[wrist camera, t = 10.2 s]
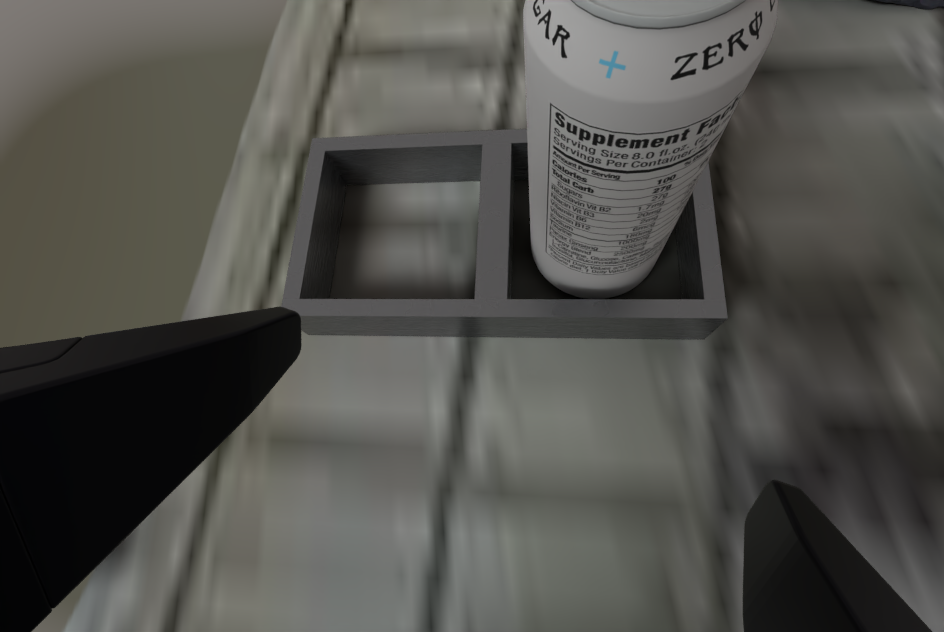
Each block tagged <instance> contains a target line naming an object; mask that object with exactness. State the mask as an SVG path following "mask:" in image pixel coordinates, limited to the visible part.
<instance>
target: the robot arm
mask: <svg viewBox="0 0 944 632" xmlns="http://www.w3.org/2000/svg"><path fill="white" fill-rule="evenodd" d="M300 350H301V317H300V315H299V314H298V313H297V312H295V311H293V310H290V309H287V308H284V307H274V308H268V309H261V310H254V311H248V312H241V313H234V314H228V315H221V316H215V317H208V318H201V319H195V320H188V321H182V322H175V323H169V324H162V325H156V326H149V327H142V328H135V329H129V330H123V331H116V332H109V333H103V334H96V335H90V336H85V337H84V338H81V337H75V338H69V339H62V340H56V341H48V342H42V343H35V344H27V345H20V346H12V347H3V348H0V632H31V631H32V630H33V629H35V627H36V626H38V624H40V623H41V622H42V621H43V620H44V619H45V618H46V617H47V616H48V615H49V614H50V613H51V611H52V608H55V607H56V606H57V605H58V604H59V603H60V602H61V601H62V600H63V599H64V598H65V597H66V596H67V595H68V594H69V593H70V592H71V591H72V590H73V589H74V588H75V587H76V586H78V585H79V584H80V583H81V581H83V580H84V579H85V578H86V577H87V576H88V575H89V574H90V573H91V572H92V571H93V570H94V569H95V568H96V567H97V566H98V565H99V564H100V563H101V562H102V561H103V560H104V559H105V558H106V557H107V556H108V555H109V554H110V553H111V552H112V551H113V550H114V549H115V548H116V547H117V546H118V545H119V544H120V543H121V542H122V541H123V540H124V539H125V538H126V537H127V536H128V535H129V534H130V533H131V532H132V531H133V530H134V529H135V528H136V527H137V526H138V525H139V524H140V523H141V522H142V521H143V520H144V519H145V518H146V517H147V516H148V515H149V514H150V513H151V512H152V511H153V510H154V509H155V508H156V507H157V506H158V505H159V504H160V503H161V502H162V501H163V500H164V499H165V498H166V497H167V496H168V495H169V494H170V493H171V492H172V491H173V490H174V489H175V488H176V487H177V486H178V485H180V484H181V483H182V482H183V481H184V480H185V479H186V478H187V477H188V476H189V475H190V474H191V473H192V472H193V471H194V470H195V469H196V468H197V467H198V466H199V465H200V464H201V463H202V462H203V461H204V460H205V459H206V458H207V457H208V456H209V455H210V454H211V453H212V452H213V451H214V450H215V449H216V448H217V447H218V446H219V445H220V444H221V443H222V442H223V441H224V440H225V439H226V438H227V437H228V436H229V435H230V434H231V433H232V432H233V431H234V430H235V429H236V428H237V427H238V426H239V425H240V424H241V423H242V422H243V421H244V420H245V419H246V418H247V417H248V416H249V415H250V414H251V413H252V412H253V411H254V409H255V408H256V407H257V406H258V405H259V404H260V403H261V401H262V400H263V399H264V398H265V397H266V395H267V394H268V393H269V392H270V390H271V389H272V388H273V387H274V386H275V384H276V383H277V382H278V381H279V380H280V378H281V377H282V376H283V375H284V373H285V372H286V371H287V370H288V369H289V367H290V366H291V365H292V364H293V362H294V361H295V360H296V359H297V357H298V355H299V353H300ZM743 625H744V632H932V631H931V630H930V629H929V628H928V626H927V625H926V624H925V623H924V622H923V621H922V620H921V619H920V618H919V617H918V616H917V615H916V613H915V612H914V611H913V610H912V609H911V608H910V607H909V606H908V605H907V604H906V603H905V602H904V600H903V599H902V598H901V597H900V596H899V595H898V594H897V593H896V592H895V591H894V590H893V589H892V587H891V586H890V585H889V584H888V583H887V582H886V581H885V580H884V579H883V578H882V577H881V576H880V574H879V573H878V572H877V571H876V570H875V569H874V568H873V567H872V566H871V565H870V564H869V563H868V561H867V560H866V559H865V558H864V557H863V556H862V555H861V554H860V553H859V552H858V551H857V550H856V548H855V547H854V546H853V545H852V544H851V543H850V542H849V541H848V540H847V539H846V538H845V537H844V535H843V534H842V533H841V532H840V531H839V530H838V529H837V528H836V527H835V526H834V525H833V524H832V523H831V521H830V520H829V519H828V518H827V517H826V516H825V515H824V514H823V513H822V512H821V511H820V510H819V508H818V507H817V506H816V505H815V504H814V503H813V502H812V501H811V500H810V499H809V498H808V497H807V495H806V494H805V493H804V492H803V491H802V490H801V489H799V488H797V487H795V486H792V485H789V484H786V483H783V482H780V481H778V480H772V481H769V482H768V483H767V484H766V485H765V487H764V488H763V490H762V492H761V493H760V495H759V496H758V498H757V499H756V501H755V503H754V504H753V506H752V507H751V509H750V511H749V512H748V514H747V517H746V521H745V529H744V569H743Z"/></svg>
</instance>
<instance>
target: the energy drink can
mask: <svg viewBox="0 0 944 632" xmlns="http://www.w3.org/2000/svg"><path fill="white" fill-rule="evenodd" d="M777 6H778V0H526V1H525V6H524V10H523V17H524V50H525V80H526V111H527V142H528V172H529V203H530V233H531V251H532V255H533V259H534V261H535V263H536V265H537V267H538V269H539V271H540V272H541V273H542V275H543V276H544V277H545V278H546V279H547V280H548V281H549V282H550V283H551V284H553V285H554V286H555V287H556V288H558V289H560V290H562V291H564V292H565V293H568V294H571V295H574V296H576V297H581V298H587V299H606V298H610V297H615V296H619V295H621V294H623V293H626V292H628V291H630V290H631V289H633V288H634V287H636V286H637V285H639V284H640V283H641V282H642V281H643V280H644V279H645V278H646V277H647V276H648V275H649V273H650V271H651V270H652V268H653V267H654V265H655V263H656V261H657V259H658V257H659V255H660V253H661V252H662V250H663V248H664V246H665V244H666V242H667V240H668V238H669V236H670V234H671V232H672V230H673V228H674V226H675V225H676V223H677V221H678V219H679V217H680V215H681V213H682V211H683V209H684V207H685V205H686V203H687V201H688V199H689V197H690V196H691V194H692V192H693V190H694V188H695V186H696V184H697V182H698V180H699V178H700V176H701V174H702V172H703V170H704V169H705V167H706V165H707V163H708V161H709V159H710V157H711V155H712V153H713V151H714V149H715V147H716V145H717V143H718V141H719V140H720V138H721V136H722V134H723V132H724V130H725V128H726V126H727V124H728V122H729V120H730V118H731V116H732V114H733V112H734V111H735V109H736V107H737V105H738V103H739V101H740V99H741V97H742V95H743V93H744V91H745V89H746V87H747V85H748V84H749V82H750V80H751V78H752V76H753V74H754V72H755V70H756V68H757V66H758V64H759V62H760V60H761V58H762V56H763V55H764V53H765V51H766V49H767V47H768V45H769V43H770V41H771V38H772V35H773V32H774V29H775V26H776V23H777Z"/></svg>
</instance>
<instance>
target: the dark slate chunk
mask: <svg viewBox="0 0 944 632" xmlns="http://www.w3.org/2000/svg"><path fill="white" fill-rule="evenodd" d="M875 1H880V2H887V3H895V4H900V5H908V6H913V7H917V8H920V9H933V8H936V7H941V8H944V0H875Z"/></svg>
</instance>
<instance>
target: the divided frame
mask: <svg viewBox="0 0 944 632" xmlns="http://www.w3.org/2000/svg"><path fill="white" fill-rule="evenodd" d="M520 179H529V172H528V142H527V129H509V130H487V131H465V132H442V133H420V134H398V135H376V136H354V137H332V138H312V143H311V148H310V154H309V159H308V165H307V170H306V176H305V181H304V186H303V192H302V197H301V203H300V208H299V214H298V219H297V224H296V230H295V235H294V241H293V246H292V251H291V257H290V262H289V268H288V273H287V279H286V284H285V289H284V295H283V300H282V306H281V307H284V308H287V309H290V310H293V311H295V312H297V313H298V314H299V315H300V317H301V330H302V331H304V332H305V333H307V334H308V335H363V336H449V337H535V338H622V339H705V338H706V337H707V336H709V335H710V334H711V333H712V332H713V331H714V330H715V329H716V328H717V327H719V326H720V325H721V324H722V323H723V322H724V321H725V320H726V319H727V318H728V316H727V308H726V300H725V292H724V284H723V276H722V268H721V260H720V252H719V243H718V235H717V227H716V219H715V211H714V203H713V195H712V187H711V178H710V170H709V162H708V163H707V165H706V167H705V169H704V170H703V172H702V174H701V176H700V178H699V180H698V182H697V184H696V186H695V188H694V190H693V192H692V194H691V196H690V197H689V199H688V201H687V203H686V205H685V207H684V209H683V211H682V213H681V215H680V217H679V219H678V221H677V223H676V225H675V230H676V241H677V252H678V262H679V273H680V284H681V295H682V299H511V291H512V252H513V213H514V180H520ZM456 181H481V182H480V202H479V221H478V241H477V260H476V280H475V299H329V297H330V290H331V284H332V277H333V271H334V264H335V258H336V251H337V244H338V238H339V231H340V225H341V218H342V212H343V205H344V198H345V192H346V185H360V184H392V183H424V182H456Z"/></svg>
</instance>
